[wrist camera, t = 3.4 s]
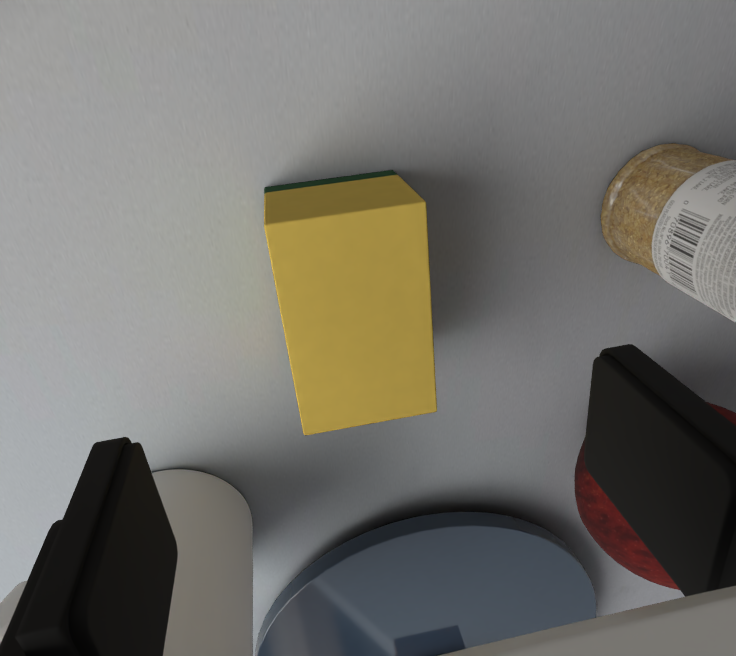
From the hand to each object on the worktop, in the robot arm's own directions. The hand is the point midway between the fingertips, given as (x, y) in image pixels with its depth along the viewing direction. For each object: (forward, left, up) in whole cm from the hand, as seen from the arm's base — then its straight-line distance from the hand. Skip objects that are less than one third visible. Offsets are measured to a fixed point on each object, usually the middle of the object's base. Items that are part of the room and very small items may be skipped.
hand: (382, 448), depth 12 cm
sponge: (0, 0, -10) cm, 10 cm away
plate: (-2, +21, -10) cm, 24 cm away
